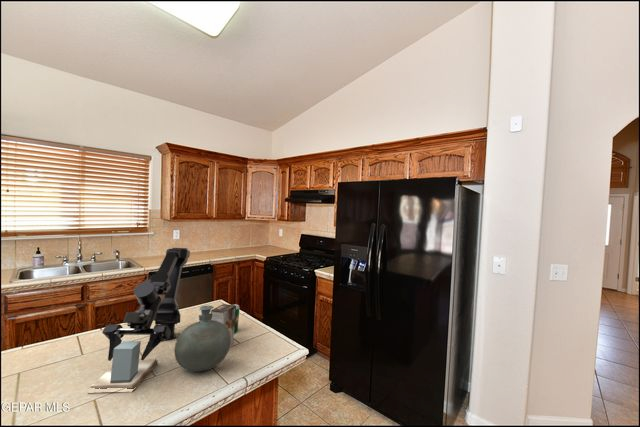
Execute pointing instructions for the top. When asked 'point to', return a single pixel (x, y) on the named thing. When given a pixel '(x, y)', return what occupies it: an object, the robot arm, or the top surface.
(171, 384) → the top surface
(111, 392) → the top surface
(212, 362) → the flask
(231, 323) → the coffee box
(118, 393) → the top surface
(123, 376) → the block
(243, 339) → the top surface
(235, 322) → the soda can
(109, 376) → the board
